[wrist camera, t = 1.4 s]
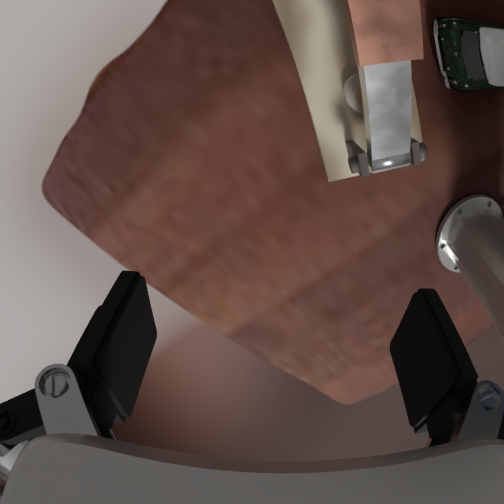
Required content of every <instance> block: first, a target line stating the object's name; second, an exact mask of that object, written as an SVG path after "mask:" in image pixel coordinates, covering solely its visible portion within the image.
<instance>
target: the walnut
mask: <svg viewBox="0 0 504 504" xmlns="http://www.w3.org/2000/svg"><path fill="white" fill-rule="evenodd" d="M343 97H344V100H345V102H346V103H347V105H348V106H349V107H350V108H352V109H353V110H355V111H357V112H359V113H361V114H364V110H363V101H362V92H361V84H360V77H359V73H356V74H353V75H351V76H350V77H349V78H348V79H347V80H346V81H345V83H344V86H343Z"/></svg>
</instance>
